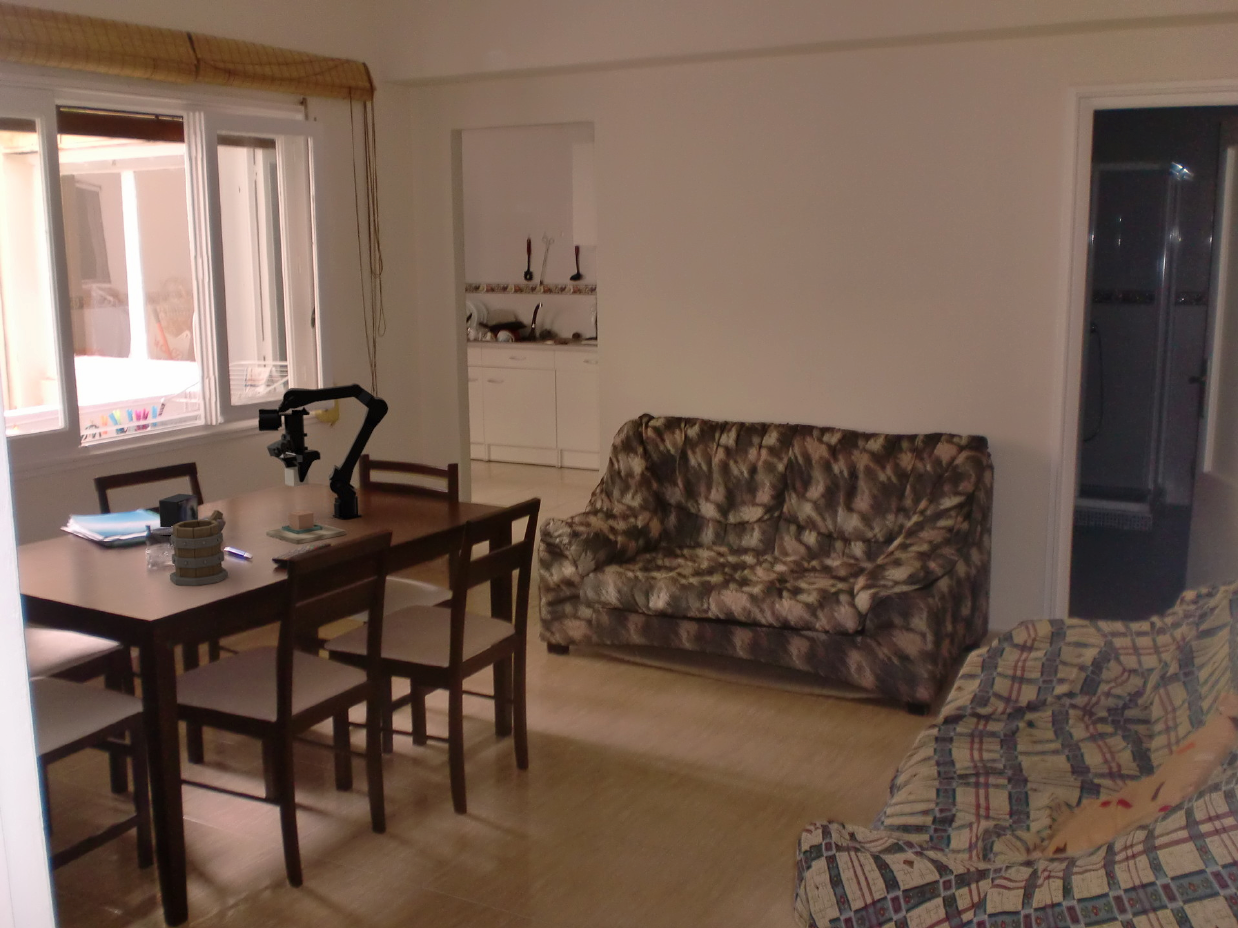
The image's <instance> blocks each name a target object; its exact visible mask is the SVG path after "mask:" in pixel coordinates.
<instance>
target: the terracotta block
mask: <svg viewBox="0 0 1238 928" xmlns="http://www.w3.org/2000/svg"><path fill="white" fill-rule="evenodd" d="M314 514H315V513H314V512H313V511H307V510H299V511H297V510H296V511H292V512H289V513H288V521H289V524H288V525H289V528H292V529H295V530H302V529H307V528H313V527H314V522H315V517H314V516H315V515H314Z"/></svg>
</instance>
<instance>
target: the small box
mask: <svg viewBox="0 0 1238 928" xmlns="http://www.w3.org/2000/svg"><path fill="white" fill-rule="evenodd" d="M198 507H199V506H198V494H187V493H186V494H185V493H177V494H174V495H171V496H168V497H165V498H161V499H159V500H158V508H159V509H158V511H159V528H160V527H171V526H173V525H175V524H177V523H180V522H183V521H191V520H198V521H199V509H198Z"/></svg>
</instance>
